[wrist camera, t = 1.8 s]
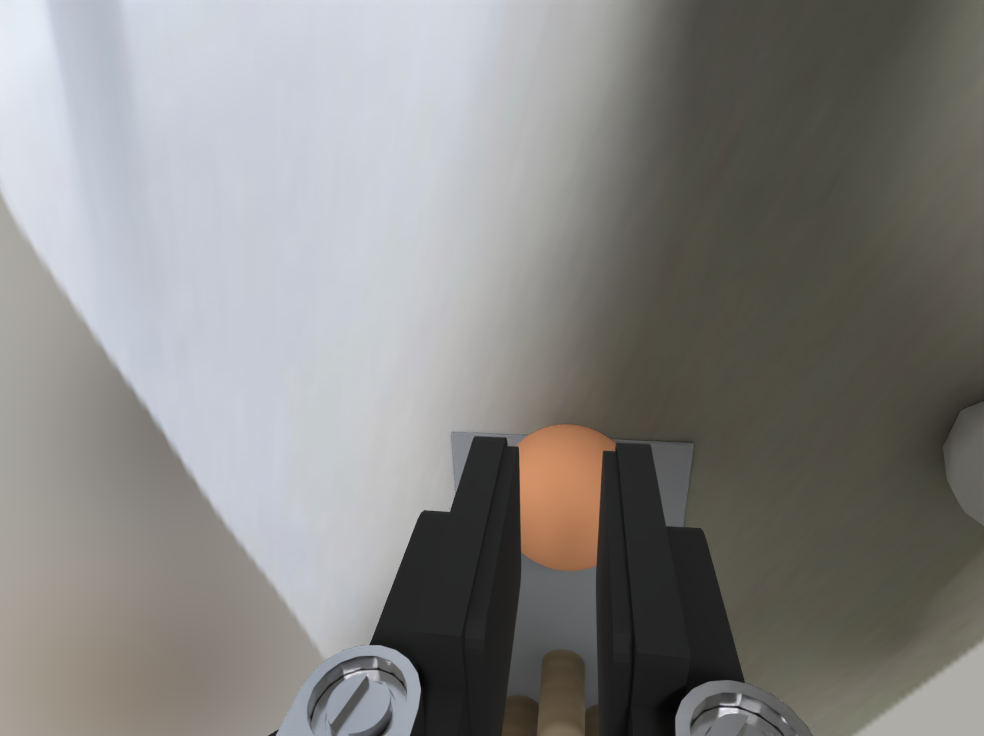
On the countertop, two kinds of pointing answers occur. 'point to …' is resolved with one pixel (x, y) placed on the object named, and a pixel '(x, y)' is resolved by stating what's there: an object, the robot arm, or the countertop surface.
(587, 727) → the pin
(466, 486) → the robot arm
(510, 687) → the plate
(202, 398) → the countertop surface
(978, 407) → the salt shaker
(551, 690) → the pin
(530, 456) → the ball
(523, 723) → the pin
